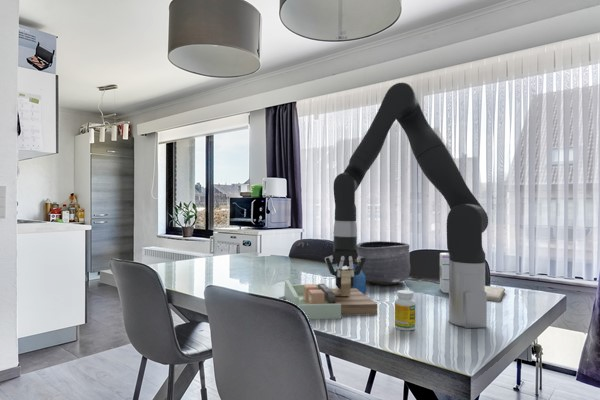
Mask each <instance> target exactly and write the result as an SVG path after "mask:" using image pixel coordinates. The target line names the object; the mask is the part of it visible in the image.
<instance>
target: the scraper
mask: <svg viewBox="0 0 600 400" xmlns="http://www.w3.org/2000/svg"><path fill="white" fill-rule="evenodd" d="M340 277H341V289H339V288H338V287H337V289H338V290H337V291H331V290H330V289H331V288H329V286H327V285H326V283H317V284H318V290H322V291H323V292H324V296H325V298H326V299H327V300H328V301H335V296H350V294H351V271H350V270H349V269H348V268H342V271H341V276H340Z"/></svg>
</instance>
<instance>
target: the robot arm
mask: <svg viewBox="0 0 600 400" xmlns="http://www.w3.org/2000/svg"><path fill="white" fill-rule="evenodd" d="M395 121H396V122H398V123H399V125H400V127H401V129H402V130H403V131H404V133H405V135H406V137H407V140H408V143H409V146H410V148H411V151H412V153H413V155H414V158H415V160H416V162H417V164H418V166H419V167H420V170H421V172H422V173H423V174H424V175H425V177H426V178H427V179H428V181H429V182H430V183H431V184H432V186H433V187H434V188H436V190H437V191H438V192H439V193H440V194H441V196H442V197H443V198H444V200H445V201H446V203H447V206H448V207H449V209H450V211H448V214H447V216H446V217H447V218H446V249H447V253H449V293H448V322H449V323H451V324H452V325H456V326H459V327H462V328H465V329H470V328H471V329H472V328H473V329H474V328H475V329H477V328H487V327H488V326H487V324H488V323H487V318H488V317H487V316H488V315H487V311H488V310H487V309H488V308H487V307H488V303H487V302H488V300H487V293H486V292H485V285H486V252H485V251H484V248H483V233H484V232H485V231H486V230H487V228H488V225H489V216H488V214H487V212H486V210H485V209H484V207H483V206H482V205H481V203H480V202H479V201H478V199H477V198H476V197H475V196H474V194H473V192H472V191H471V190H470V188H469V187H468V185H467V184H466V182H465V179H464V178H463V175H462V174H461V173H462V172H461V171H460V169H459V168H458V166H457V164H456V162H455V159H454V158H453V157H452V154H451V153H450V151H449V149H448V147H447V146H446V144H445V143H444V141H443V139H442V138H441V137H440V136H439V134H438V133H437V132H436V131H435V129H433V127H432V126H431V125H430V124H429V122H428V121H427V118H426V116H425V115H424V112H423V110H422V108H421V105H420V103H419V99H418V97H417V95H416V92H415V91H414V89H413V86H411V85H410V84H409V83H405V82H397V83H395V84H393V85H392V86H390V87H389V89H387V92H386V93H385V95H384V97H383V99H382V101H381V104H380V106H379V108H378V110H377V112H376V114H375V116H374V118H373V120H372V122H371V124H370V126H369V128H368V129H367V131H366V134H365V135H364V136H363V138H362V139H361V141H360V143H359V144H358V146H357V148H356V149H355V150H354V152H353V153H352V155H351V156H350V158H349V160H348V165H347V166H346V168H345V169H344V171H343V172H342V173H340V174H337V175H336V177H335V179H334V181H333V188H332V189H333V200H334V224H333V232H332V234H333V247H332V248H333V249H332V253H331V255H329V256H325V257H324V261H325V264H326V267H327V269H328V272H329V274H330V275H332V276H334V277H335V286H336V288H337V289H338V288H339V289H341V277H340V276H341V271H342V269H344V268H343V267H346V269H349V270H350V271H351V288H352V287H353V285H354V276H355V275H359V274H360V271H361V269H362V267H363V265H364V262H365V258H364V257H361V256H358V253H357V244H358V228H357V227H358V226H357V206H356V204H355V203H356V201H355V200H356V197H355V196H356V191H357V190H358V188H359V187H360V185H361V183H362V182H363V180H364V177H365V176H366V174H367V172H368V171H369V170H370V168H371V167H372V165H373V164H374V163H375V161H376V160H377V158H378V156H379V154H380V153H381V151H382V149H383V146H384V144H385V141H386V139H387V136H388V135H389V132H390V131H391V130H390V129H391V128H392V126H393V125H394V124H395ZM356 259H357V262H358V263H357V265H356V268H355V270H354V267H353V263H354V262H355V260H356ZM333 260H334V261H335V263H336V265H335V269H334V267H333Z"/></svg>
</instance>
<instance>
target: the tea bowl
mask: <svg viewBox="0 0 600 400" xmlns="http://www.w3.org/2000/svg"><path fill="white" fill-rule="evenodd" d="M357 253H358V256H361V257H364V258H365V262H364V265H363V267H362V269H361V270H362V271H363V273H364V274H365V276H366V281H370V283H372V284H376V285H382V286H387V285H388V286H389V285H394V284H396V283H399V282H403V281H405V280H407V278H409V275H410V273H411V262H410V259H411V257H410V244H409V243H405V242H397V241H385V240H384V241H380V240H376V241H364V242H359V243H357ZM356 260H357V259H356Z"/></svg>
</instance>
